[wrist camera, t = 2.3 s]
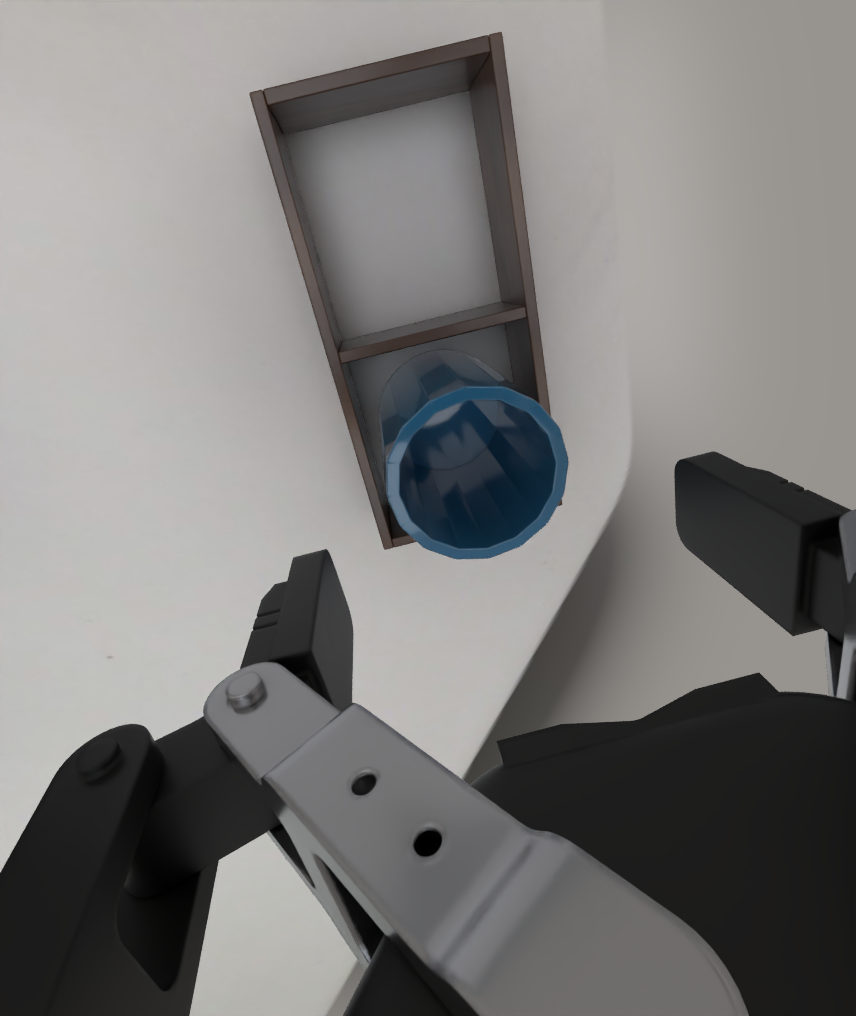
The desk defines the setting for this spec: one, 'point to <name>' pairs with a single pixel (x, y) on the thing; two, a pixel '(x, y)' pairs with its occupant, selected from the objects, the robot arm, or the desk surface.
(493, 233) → the divided wooden frame
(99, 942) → the robot arm
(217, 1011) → the desk surface
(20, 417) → the desk surface
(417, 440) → the blue cup
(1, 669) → the desk surface
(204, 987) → the desk surface
